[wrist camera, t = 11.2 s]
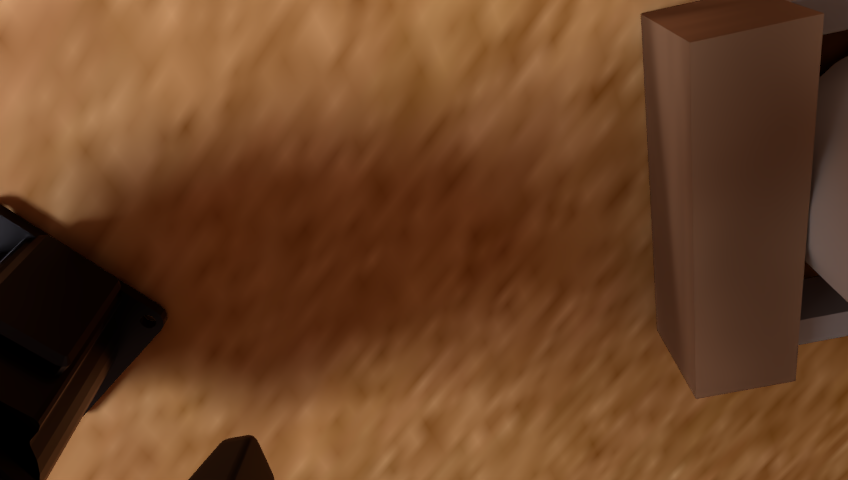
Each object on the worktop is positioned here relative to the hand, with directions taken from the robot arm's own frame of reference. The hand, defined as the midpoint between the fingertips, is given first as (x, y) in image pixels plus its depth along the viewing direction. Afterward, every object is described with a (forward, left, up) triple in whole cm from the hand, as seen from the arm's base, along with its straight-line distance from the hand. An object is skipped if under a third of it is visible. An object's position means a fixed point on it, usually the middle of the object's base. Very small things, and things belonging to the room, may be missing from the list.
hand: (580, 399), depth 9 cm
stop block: (+3, -7, -12) cm, 14 cm away
